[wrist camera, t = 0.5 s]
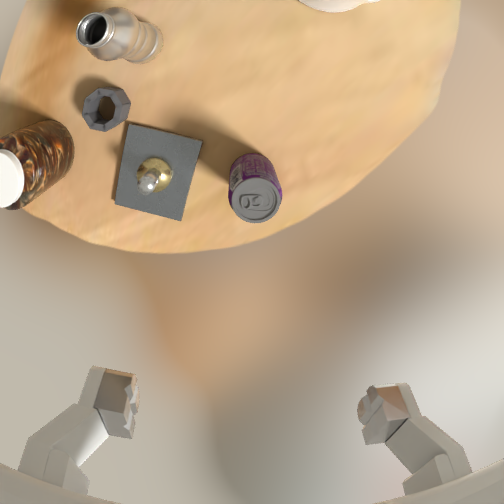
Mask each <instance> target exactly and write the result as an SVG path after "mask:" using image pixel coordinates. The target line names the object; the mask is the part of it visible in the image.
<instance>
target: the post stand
mask: <svg viewBox="0 0 504 504" xmlns="http://www.w3.org/2000/svg"><path fill="white" fill-rule="evenodd" d="M202 142H203V140H199V139H195V138H191V137H187V136H183V135H179V134H175V133H171V132H167V131H163V130H159V129H154V128H150V127H145V126H141V125H136V124H132V123H131V124H129V126H128V131H127V136H126V141H125V146H124V151H123V156H122V161H121V167H120V173H119V179H118V185H117V191H116V198H115V204H116V205H120V206H124V207H128V208H132V209H136V210H140V211H143V212H147V213H151V214H155V215H159V216H163V217H167V218H170V219H174V220H178V221H181V220H182V216H183V212H184V208H185V204H186V200H187V196H188V192H189V189H190V185H191V181H192V177H193V174H194V170H195V166H196V163H197V159H198V156H199V152H200V149H201V145H202Z"/></svg>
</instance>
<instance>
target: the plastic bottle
mask: <svg viewBox="0 0 504 504" xmlns="http://www.w3.org/2000/svg"><path fill="white" fill-rule="evenodd" d="M76 37H77V40H78V42H79V43H80V44H81V45H83V46H86V47H87V49H88V51H89V52H90V53H91V54H92V55H93V56H94V57H96V58H97V59H100V60H104V61H110V60H116V59H120V58H124V59H126V60H127V61H129V62H131V63H133V64H144V63H147V62H149V61H151V60H153V59H155V58H156V57H157V56H158V54H159V53H160V52H161V50H162V47H163V36H162V33H161V31H160V29H159V28H158V27H157V26H155V25H154V24H152V23H148V22H140V21H138V19H137V18H136V17H135V16H134V14H133V13H131V12H130V11H129V10H127V9H124V8H120V7H114V8H108V9H105V10H103V11H101V12H94V13H90V14H88V15H86V16H85V17H84V18H83V19H82V20H81V21H80V22H79V24H78V26H77V29H76Z"/></svg>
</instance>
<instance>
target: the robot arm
mask: <svg viewBox="0 0 504 504" xmlns="http://www.w3.org/2000/svg"><path fill="white" fill-rule="evenodd" d="M299 1H300V2H302V3H303V4H305V5H307V6H309V7H311V8H314V9H317V10H320V11H325V12H344V11H348V10H351V9H353V8H355V7H357V6H359V5H361V4H364V3H376V2H379V1H380V0H299ZM136 382H137V378H136V374H132V373H127V372H121V371H116V370H111V369H107V368H102V367H96V366H92V368H91V369H90V371H89V373H88V376H87V379H86V382H85V385H84V387H83V390H82V393H81V396H80V399H79V402H78V404H72V405H71V406H70V407H69V408H67V409H66V410H65V411H64V412H62V413H61V414H60V415H58V416H57V417H56V418H54V419H53V420H52V421H50V422H49V423H48V424H46V425H45V426H44V427H42V428H41V429H40V430H39V431H37V432H36V433H35V434H33V435H32V436H31V437H29V438H28V440H27V443H26V446H25V449H24V452H23V455H22V458H21V461H20V465H19V468H18V471H17V470H15V469H12V468H10V467H8V466H6V465H4V464H1V463H0V504H120V503H116V502H111V501H107V500H103V499H99V498H95V497H92V496H88V495H87V492H88V486H89V480H88V478H87V477H86V476H85V474H84V473H83V472H82V471H81V470H80V469H79V466H80V465H81V464H82V463H83V462H84V461H85V460H86V459H87V458H88V457H89V456H90V455H91V454H92V453H93V452H94V451H95V450H96V449H97V448H98V447H99V446H100V445H101V444H102V443H103V442H104V441H105V440H106V438H108V437H109V435H112V436H117V437H123V438H129V439H132V437H133V432H134V426H135V420H134V417H133V416H134V415H135V414H136V413H137V412H138V407H139V388H138V387H137V386H136ZM357 412H358V418H359V421H360V422H361V423H362V424H363V425H364V427H363V429H362V433H363V436H364V440H365V443H366V445H369V444H378V443H385V444H386V446H387V447H388V448H389V449H390V450H391V451H392V452H393V453H394V455H396V457H397V458H398V459H399V460H400V461H401V462H402V463H403V465H404V466H405V467H406V468H407V469H408V470H409V471H410V472H411V473H412V475H411V476H410V477H408V478H407V479H405V480H404V482H403V488H404V492H405V496H403V497H399V498H395V499H392V500H387V501H383V502H379V503H374V504H504V459H502V460H499V461H497V462H496V463H493V464H491V465H489V466H487V467H484V468H482V469H480V470H478V471H475V472H472V470H471V467H470V465H469V462H468V459H467V457H466V454H465V451H464V449H463V447H462V446H461V445H460V444H458V443H457V442H456V441H455V440H454V439H452V438H451V437H450V436H448V435H447V434H446V433H445V432H443V430H441V429H440V428H439V427H437V426H436V425H435V424H434V423H433V422H432V421H430V420H429V419H428V418H427V417H426V416H422V415H421V413H420V410H419V408H418V406H417V403H416V401H415V398H414V396H413V394H412V391H411V389H410V386H409V385H408V384H407V383H398V384H383V385H372V386H370V387H369V388H368V390H367V395H366V396H364V397H363V398H362V399H361V400H360V402H359V404H358V409H357Z"/></svg>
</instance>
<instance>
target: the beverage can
mask: <svg viewBox="0 0 504 504" xmlns="http://www.w3.org/2000/svg"><path fill="white" fill-rule="evenodd" d="M228 198H229V203H230V206H231V207H232V209H233V210H234V212H235V213H236V214H237V216H238V217H240V218H241V219H242V220H244V221H246V222H250V223H261V222H265V221H267V220H269V219H270V218H272V217H273V216H274V215H275V214H276V212H277V211H278V209H279V206H280V204H281V200H282V190H281V186H280V183H279V181H278V178H277V175H276V172H275V170H274V167H273V165H272V163H271V162H270V161H269V160H268V159H267V158H266V157H264V156H262V155H260V154H255V153H250V154H245V155H243V156H241V157H239V158H238V159H237V160H236V161H235V162H234V163H233V165H232V167H231V170H230V178H229V192H228Z"/></svg>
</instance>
